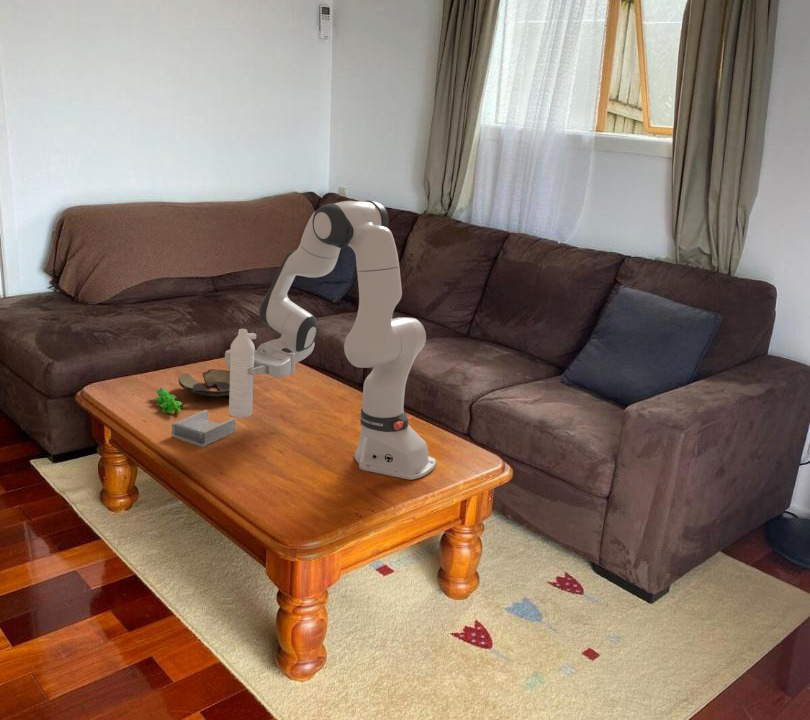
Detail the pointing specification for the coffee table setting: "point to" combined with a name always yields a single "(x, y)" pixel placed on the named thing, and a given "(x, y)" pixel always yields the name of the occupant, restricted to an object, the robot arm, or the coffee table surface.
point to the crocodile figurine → (168, 401)
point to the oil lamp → (208, 383)
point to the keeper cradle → (201, 429)
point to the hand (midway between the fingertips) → (239, 369)
